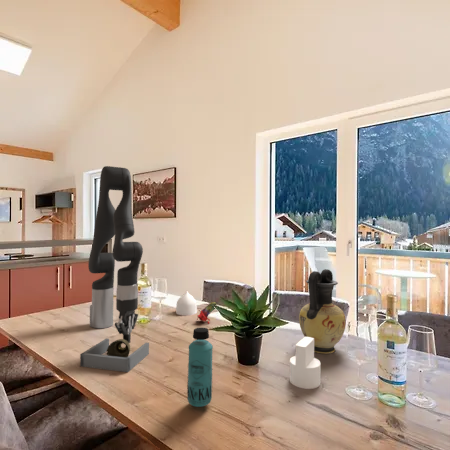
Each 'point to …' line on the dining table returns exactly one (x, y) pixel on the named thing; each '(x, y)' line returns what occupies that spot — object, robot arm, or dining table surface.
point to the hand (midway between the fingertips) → (126, 343)
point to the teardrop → (186, 305)
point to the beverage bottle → (200, 369)
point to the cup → (118, 348)
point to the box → (111, 358)
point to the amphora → (322, 313)
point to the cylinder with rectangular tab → (305, 365)
